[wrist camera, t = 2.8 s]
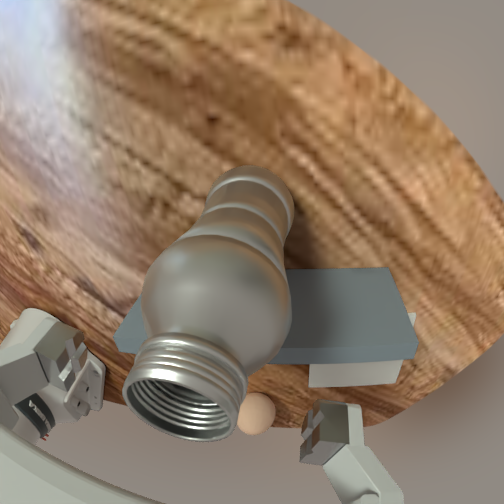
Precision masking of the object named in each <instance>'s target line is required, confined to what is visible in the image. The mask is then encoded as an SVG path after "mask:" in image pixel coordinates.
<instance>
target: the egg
mask: <svg viewBox="0 0 504 504" xmlns="http://www.w3.org/2000/svg"><path fill="white" fill-rule="evenodd" d="M275 414H276V411H275V406H274V403H273V402H272V400H271V399H270V398H269V397H268V396H266V395H264V394H262V393H257V392H253V393H249V394H246V397H245V399H244V401H243V403H242V404H241V406H240V411H239V416H238V420H237V425H238V427H239V428H240V429H241V430H242V431H243V432H244V433H246V434H249V435H259V434H261V433H263V432H265V431H266V430H268V429H269V427H270V426H271V425H272V423H273V421H274V419H275Z"/></svg>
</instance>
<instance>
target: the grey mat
mask: <svg viewBox="0 0 504 504" xmlns="http://www.w3.org/2000/svg"><path fill="white" fill-rule="evenodd" d="M408 316H409V318H410V321H411V323H412V326H414V322H415V318H416V313H408ZM402 362H403V360H393V361H380V362H363V363H341V364H310V367H309V384H308V387H344V386H364V385H378V384H390V383H396V380H397V377H398V374H399V371H400V368H401V365H402Z"/></svg>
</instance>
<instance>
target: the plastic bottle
mask: <svg viewBox="0 0 504 504" xmlns="http://www.w3.org/2000/svg"><path fill="white" fill-rule="evenodd" d="M294 214H295V212H294V202H293V198H292V196H291V194H290V192H289V190H288V188H287V186H286V185H285V183H284V182H283V181H282V179H281V178H279V177H278V176H277V175H276V174H275V173H273V172H271V171H270V170H268V169H265V168H263V167H259V166H253V165H247V166H240V167H236V168H234V169H231V170H229V171H227V172H225V173H223V174H222V175H221V176H219V177H218V178H217V180H216V181H215V182H214V183H213V185H212V187H211V188H210V190H209V193H208V196H207V199H206V203H205V208H204V210H203V213H202V215H201V217H200V218H199V219H198V220H197V222H196V223H195V224H194V225H193V226H192V227H191V229H190V230H188V231H187V232H186V233H185V234H183V235H182V236H181V237H180V238H179V239H177V240H176V241H175V242H174V243H173V244H171V245H170V246H169V247H168V248H166V249H165V250H164V251H163V252H162V253H161V255H160V256H159V257H158V258H157V259H156V260H155V261H154V262H153V264H152V265H151V266H150V268H149V269H148V272H147V274H146V276H145V279H144V284H143V289H142V296H141V312H142V318H143V323H144V328H145V331H146V334H147V337H148V338H147V339H146V340H145V341H144V342H143V343H142V345H141V347H140V348H139V350H138V352H137V354H136V356H135V363H134V366H133V367H132V369H131V371H130V373H129V375H128V377H127V378H126V380H125V383H124V387H123V389H122V395H123V398H124V401H125V402H126V404H127V406H128V407H129V408H130V410H131V411H132V412H133V413H134V414H135V415H136V416H137V417H138V418H140V419H141V420H142V421H144V422H145V423H147V424H148V425H150V426H151V427H153V428H155V429H157V430H159V431H161V432H163V433H166V434H168V435H171V436H174V437H177V438H180V439H184V440H189V441H196V442H213V441H218V440H222V439H224V438H227V437H228V436H230V435H231V434H232V432H233V431H234V428H235V426H236V425H237V420H238V416H239V411H240V406H241V404H242V403H243V401H244V399H245V397H246V392H247V387H248V376H250V375H252V374H253V373H255V372H256V371H258V370H259V369H260V368H262V367H263V366H264V365H266V364H267V363H268V362H270V361H271V360H272V359H273V358H274V357H275V356H276V355H277V354H278V352H279V350H280V348H281V347H282V345H283V343H284V341H285V339H286V337H287V335H288V333H289V331H290V327H291V323H292V307H291V295H290V291H289V286H288V281H287V276H286V272H285V267H284V250H283V248H284V244H285V240H286V237H287V236H288V234H289V231H290V229H291V226H292V223H293V219H294Z"/></svg>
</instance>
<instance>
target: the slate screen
mask: <svg viewBox="0 0 504 504" xmlns="http://www.w3.org/2000/svg"><path fill="white" fill-rule="evenodd" d="M285 272H286V276H287V281H288V286H289V291H290V295H291V307H292V323H291V327H290V331H289V333H288V335H287V337H286V339H285V341H284V343H283V345H282V347H281V348H280V350H279V352H278V354H277V355H276V356H275V357H274V358H273V359H272V360H271V361H270V362H268V363H267V364H341V363H363V362H380V361H393V360H405V359H413V358H414V356H415V353H416V350H417V347H418V344H419V342H418V339H417V336H416V334H415V331H414V328H413V326H412V323H411V321H410V318H409V316H408V313H407V311H406V308H405V306H404V303H403V301H402V298H401V296H400V294H399V291H398V289H397V287H396V284H395V282H394V280H393V277H392V275H391V273H390V271H389V268H388V267H387V268H341V269H285ZM141 296H142V293H141V295H140V296H139V298H138V299H137V301H136V302H135V304H134V305H133V307H132V308H131V310H130V311H129V313H128V314H127V316H126V317H125V319H124V320H123V322H122V323H121V325H120V326H119V328H118V329H117V331H116V332H115V334H114V336H113V338H114V340H115V343H116V345H117V347H118V349H119V352H126V353H133V354H137V352H138V350H139V348H140V347H141V345H142V343H143V342H144V341H145V340H146V339H147V338H148V337H147V334H146V331H145V328H144V323H143V318H142V312H141Z"/></svg>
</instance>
